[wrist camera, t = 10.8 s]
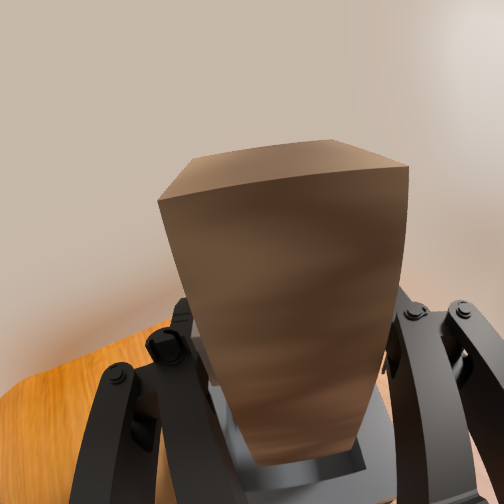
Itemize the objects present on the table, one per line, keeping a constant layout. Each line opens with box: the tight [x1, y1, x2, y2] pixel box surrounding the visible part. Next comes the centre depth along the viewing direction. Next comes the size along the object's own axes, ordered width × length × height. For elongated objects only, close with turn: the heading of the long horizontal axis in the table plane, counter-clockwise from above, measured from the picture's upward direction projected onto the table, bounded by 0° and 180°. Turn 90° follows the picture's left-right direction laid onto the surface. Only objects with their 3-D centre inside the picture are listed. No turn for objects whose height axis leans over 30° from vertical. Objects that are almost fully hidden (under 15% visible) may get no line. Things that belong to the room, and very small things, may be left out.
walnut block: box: [158, 140, 409, 467], centre depth 10 cm, size 5×5×14 cm
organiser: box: [208, 381, 397, 504], centre depth 16 cm, size 13×13×4 cm
